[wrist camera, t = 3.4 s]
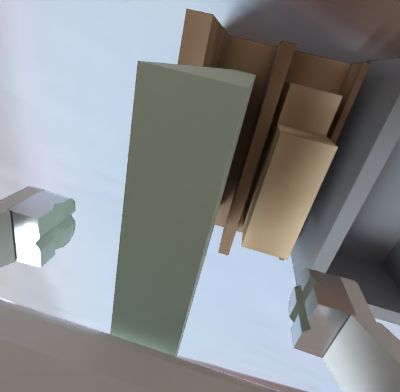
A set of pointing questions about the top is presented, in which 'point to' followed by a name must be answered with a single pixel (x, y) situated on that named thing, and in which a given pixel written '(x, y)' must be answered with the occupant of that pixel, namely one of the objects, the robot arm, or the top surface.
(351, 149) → the bin
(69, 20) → the top surface
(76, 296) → the top surface
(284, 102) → the offcut lower
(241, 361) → the top surface
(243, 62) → the rack
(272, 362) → the top surface
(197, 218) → the sheet
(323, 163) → the offcut upper
